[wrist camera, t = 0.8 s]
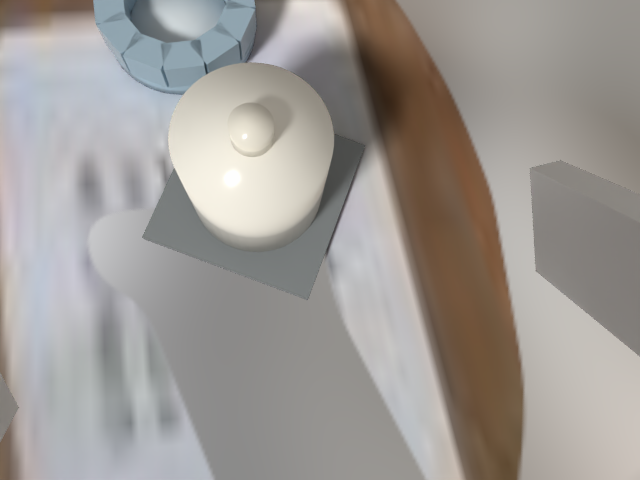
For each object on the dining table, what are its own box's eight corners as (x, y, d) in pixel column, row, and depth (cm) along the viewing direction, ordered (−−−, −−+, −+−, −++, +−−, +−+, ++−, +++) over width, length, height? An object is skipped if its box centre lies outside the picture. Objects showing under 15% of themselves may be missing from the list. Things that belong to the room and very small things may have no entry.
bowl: (83, 63, 41) (66, 34, 37) (145, -52, 43) (134, -89, 40) (222, 115, 41) (217, 91, 37) (276, -4, 43) (276, -37, 40)
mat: (143, 238, 38) (142, 237, 38) (211, 91, 41) (211, 88, 41) (307, 300, 38) (308, 299, 37) (363, 148, 41) (365, 145, 40)
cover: (171, 224, 38) (133, 169, 28) (222, 112, 40) (203, 23, 30) (295, 270, 38) (301, 232, 28) (338, 156, 40) (360, 80, 30)
